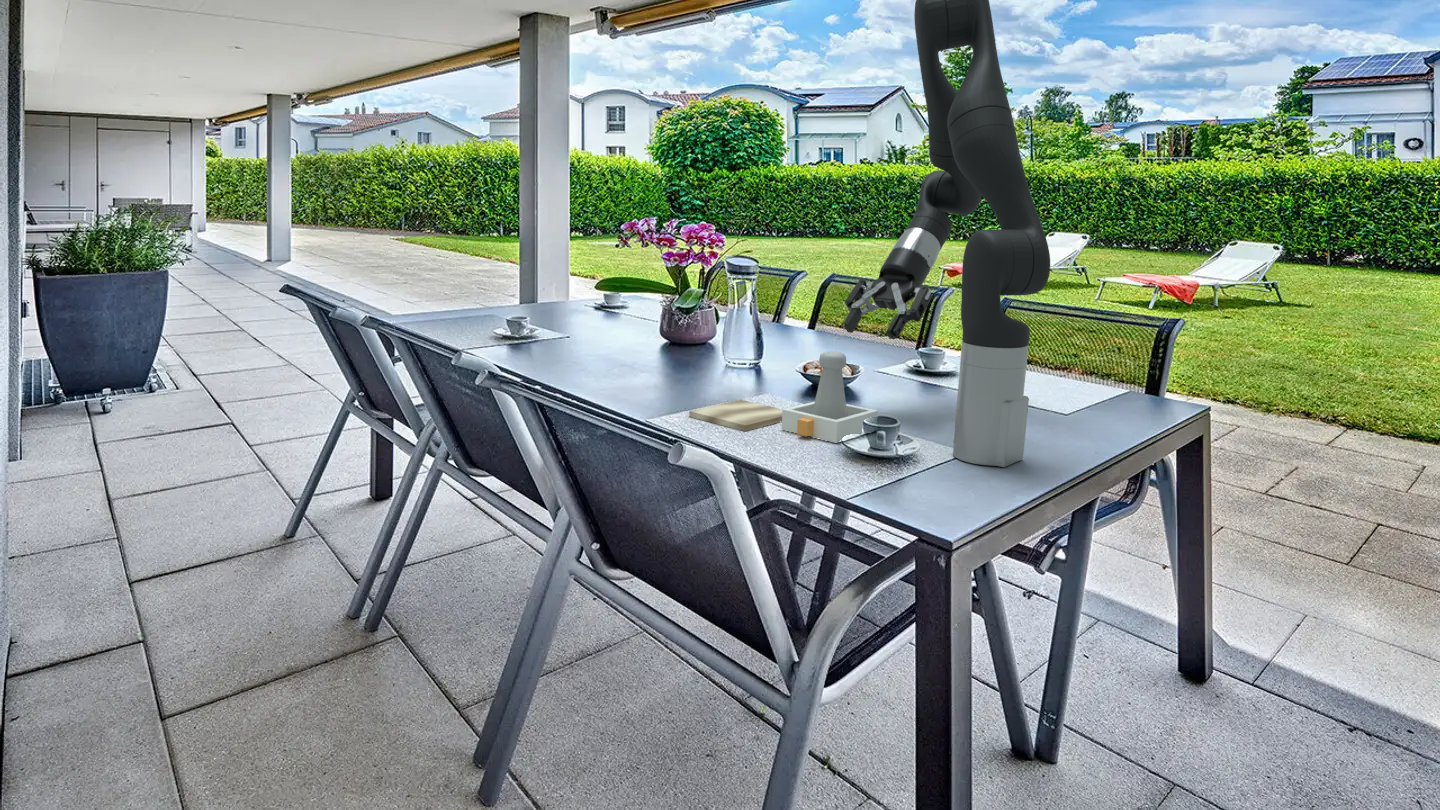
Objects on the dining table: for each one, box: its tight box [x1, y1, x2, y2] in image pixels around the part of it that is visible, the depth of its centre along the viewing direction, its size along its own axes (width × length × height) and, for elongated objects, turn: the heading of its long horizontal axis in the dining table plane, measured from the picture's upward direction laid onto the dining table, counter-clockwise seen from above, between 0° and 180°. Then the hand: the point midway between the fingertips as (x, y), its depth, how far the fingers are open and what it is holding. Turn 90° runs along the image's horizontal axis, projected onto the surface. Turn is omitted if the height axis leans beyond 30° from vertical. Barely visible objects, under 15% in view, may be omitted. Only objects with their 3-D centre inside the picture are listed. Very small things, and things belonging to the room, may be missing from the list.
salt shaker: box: [812, 350, 848, 420], centre depth 144 cm, size 6×6×13 cm
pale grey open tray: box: [781, 400, 879, 442], centre depth 145 cm, size 11×13×4 cm
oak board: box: [688, 399, 783, 432], centre depth 153 cm, size 13×13×1 cm
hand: (868, 332), depth 149 cm, fingers open, 8 cm apart
